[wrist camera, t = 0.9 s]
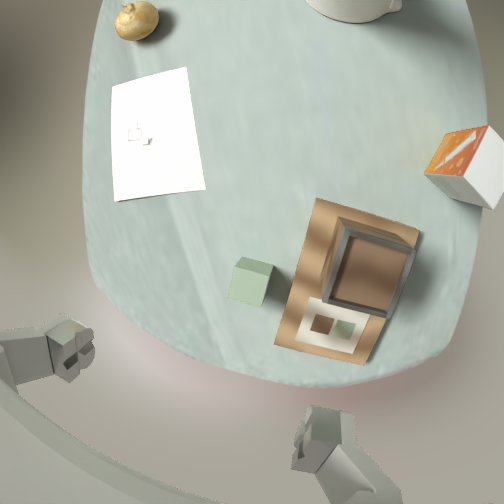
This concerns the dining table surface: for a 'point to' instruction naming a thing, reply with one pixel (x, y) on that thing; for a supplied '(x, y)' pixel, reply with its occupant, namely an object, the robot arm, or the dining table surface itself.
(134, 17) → the onion
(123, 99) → the paper sheet
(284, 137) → the dining table surface
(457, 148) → the small box
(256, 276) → the sage block
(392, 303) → the oak base board
